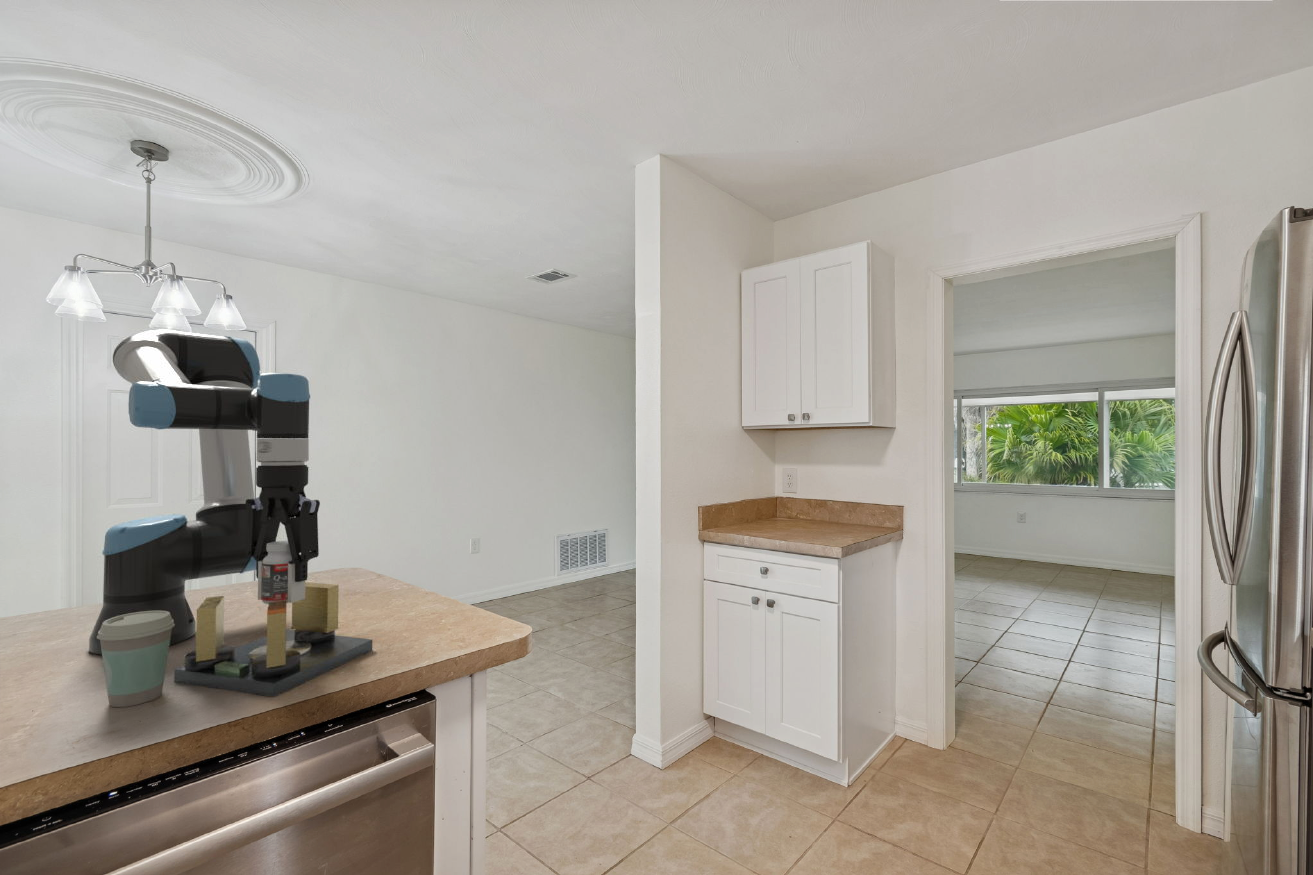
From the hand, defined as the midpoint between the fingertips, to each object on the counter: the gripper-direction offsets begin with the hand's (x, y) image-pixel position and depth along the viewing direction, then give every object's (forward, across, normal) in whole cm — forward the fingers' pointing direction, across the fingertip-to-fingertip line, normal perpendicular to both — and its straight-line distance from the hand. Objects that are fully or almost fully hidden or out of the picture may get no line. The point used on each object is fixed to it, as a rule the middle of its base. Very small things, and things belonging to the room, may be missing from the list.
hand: (281, 598), depth 98 cm
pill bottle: (+1, 0, 0) cm, 1 cm away
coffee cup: (+12, -9, -16) cm, 22 cm away
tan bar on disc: (+9, +6, -6) cm, 12 cm away
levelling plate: (+11, 0, 0) cm, 11 cm away
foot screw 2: (+9, 0, +7) cm, 12 cm away
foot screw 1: (+9, -7, -7) cm, 13 cm away
